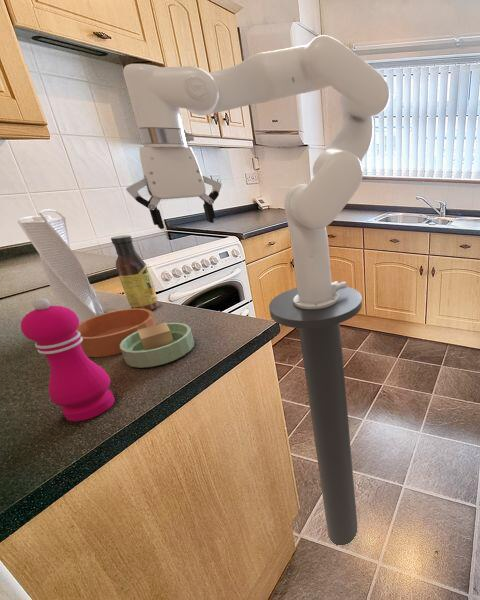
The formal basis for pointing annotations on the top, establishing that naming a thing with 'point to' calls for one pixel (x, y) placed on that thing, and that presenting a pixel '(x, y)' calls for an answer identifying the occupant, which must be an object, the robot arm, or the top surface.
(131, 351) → the dish
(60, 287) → the skyscraper
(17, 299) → the top surface
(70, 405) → the pepper mill
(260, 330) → the top surface
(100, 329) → the pan
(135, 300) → the sauce bottle
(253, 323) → the top surface
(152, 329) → the beech block
